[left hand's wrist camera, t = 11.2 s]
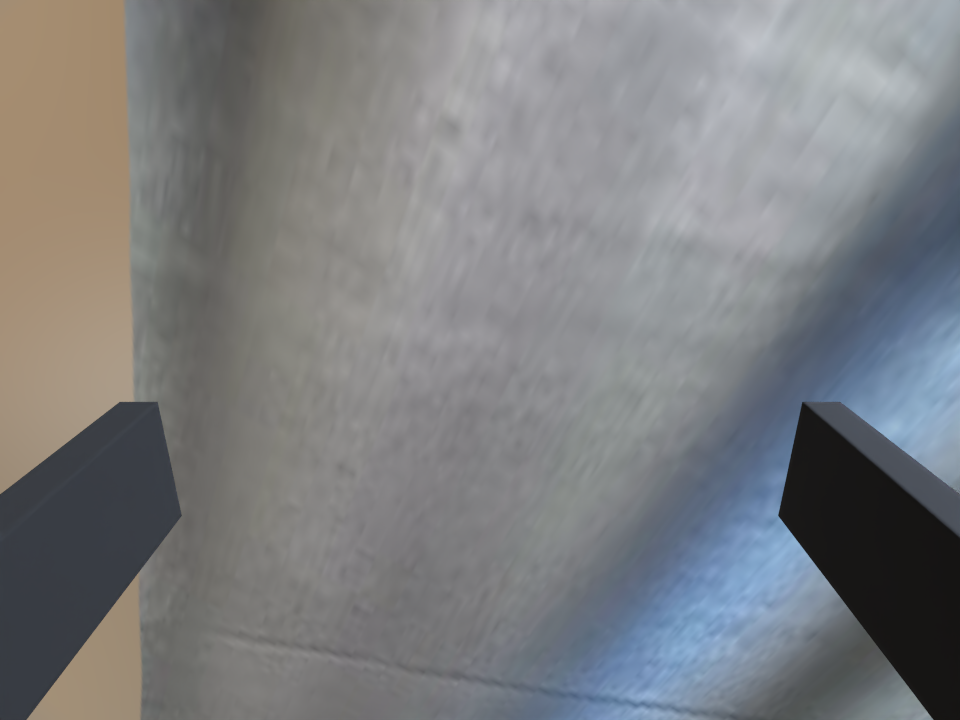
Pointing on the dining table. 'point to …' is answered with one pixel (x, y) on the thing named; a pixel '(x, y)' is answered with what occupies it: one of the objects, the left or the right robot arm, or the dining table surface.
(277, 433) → the dining table surface
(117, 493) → the left robot arm
